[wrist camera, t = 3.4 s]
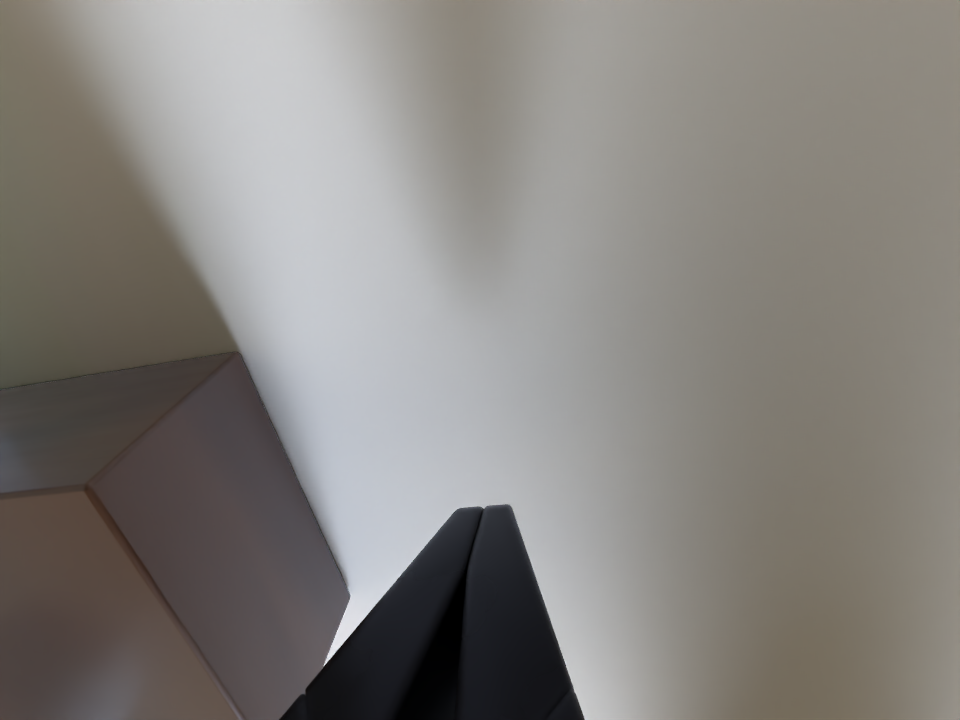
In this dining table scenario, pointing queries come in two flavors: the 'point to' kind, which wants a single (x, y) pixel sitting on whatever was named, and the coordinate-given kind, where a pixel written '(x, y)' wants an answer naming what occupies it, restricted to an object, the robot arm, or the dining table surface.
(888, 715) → the dining table surface
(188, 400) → the walnut block
